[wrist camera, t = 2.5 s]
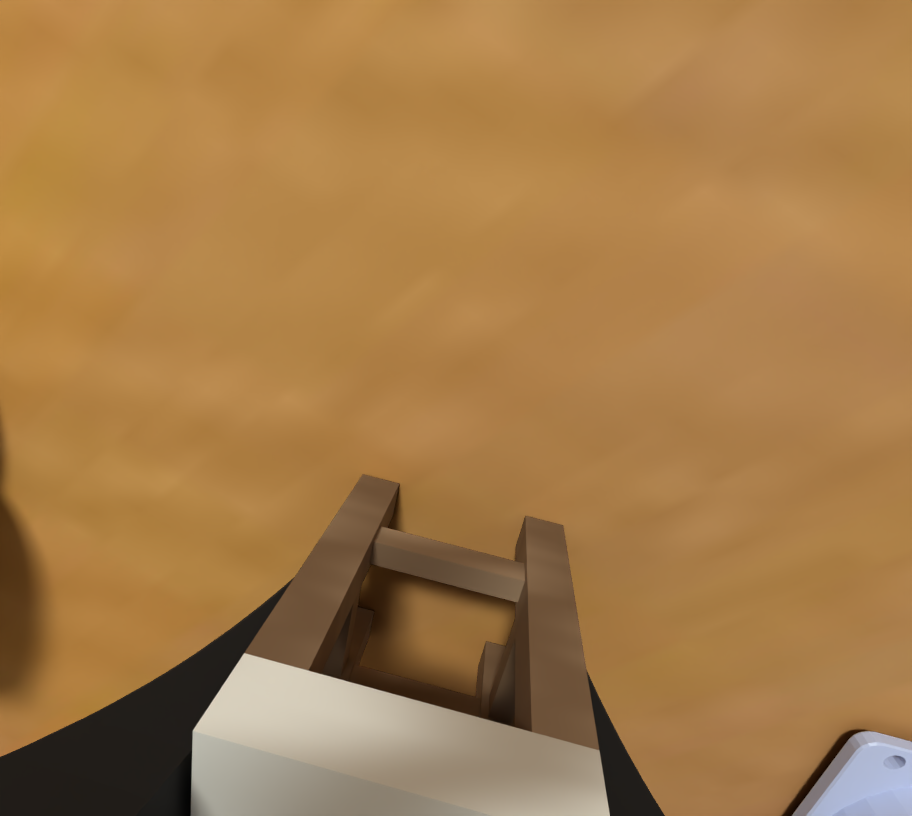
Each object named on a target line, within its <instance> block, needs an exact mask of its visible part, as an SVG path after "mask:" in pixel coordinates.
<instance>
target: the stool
mask: <svg viewBox="0 0 912 816" xmlns="http://www.w3.org/2000/svg"><path fill="white" fill-rule="evenodd" d="M398 488H399V483H395V482H391V481H387V480H383V479H379V478H375V477H371V476H367V475H364V474H363V475H362V476H361V478H360V479H359V481H358V482H357V484H356V485H355V487H354V488H353V490H352V491H351V493H350V494H349V496H348V497H347V499H346V500H345V502H344V504H343V505H342V507H341V508H340V510H339V511H338V513H337V514H336V516H335V517H334V519H333V520H332V522H331V523H330V525H329V526H328V528H327V529H326V531H325V532H324V534H323V535H322V537H321V538H320V540H319V541H318V543H317V544H316V546H315V547H314V549H313V550H312V552H311V553H310V555H309V556H308V558H307V559H306V561H305V562H304V564H303V565H302V567H301V568H300V570H299V571H298V573H297V574H296V576H295V577H294V579H293V580H292V582H291V583H290V585H289V586H288V588H287V589H286V591H285V592H284V594H283V596H282V597H281V599H280V600H279V602H278V603H277V605H276V606H275V608H274V609H273V611H272V612H271V614H270V615H269V617H268V618H267V620H266V621H265V623H264V624H263V626H262V627H261V629H260V630H259V632H258V633H257V635H256V636H255V638H254V639H253V641H252V642H251V644H250V645H249V647H248V648H247V650H246V651H245V653H244V654H243V656H242V657H241V659H240V660H239V662H238V663H237V665H236V666H235V668H234V669H233V671H232V672H231V674H230V675H229V677H228V678H227V680H226V681H225V683H224V684H223V686H222V687H221V689H220V691H219V692H218V694H217V695H216V697H215V698H214V700H213V701H212V703H211V704H210V706H209V707H208V709H207V710H206V712H205V713H204V715H203V716H202V718H201V719H200V721H199V722H198V724H197V725H196V727H195V728H194V730H193V740H192V780H191V816H610V813H609V807H608V801H607V794H606V788H605V782H604V776H603V770H602V763H601V757H600V751H599V745H598V739H597V732H596V726H595V720H594V714H593V708H592V701H591V695H590V689H589V683H588V677H587V670H586V664H585V658H584V652H583V645H582V639H581V633H580V627H579V621H578V614H577V608H576V602H575V596H574V590H573V583H572V577H571V571H570V565H569V559H568V552H567V546H566V540H565V534H564V528H563V525H560V524H556V523H552V522H548V521H544V520H540V519H536V518H532V517H528V516H525V519H524V522H523V525H522V529H521V532H520V535H519V538H518V541H517V544H516V561H513V560H509V559H505V558H501V557H497V556H493V555H489V554H486V553H482V552H478V551H474V550H470V549H466V548H462V547H459V546H455V545H451V544H447V543H443V542H439V541H435V540H432V539H428V538H424V537H420V536H416V535H412V534H408V533H405V532H401V531H397V530H393V529H389V528H388V526H389V523H390V521H391V519H392V517H393V514H394V509H395V503H396V498H397V493H398ZM371 564H373V565H377V566H380V567H384V568H388V569H392V570H396V571H399V572H403V573H407V574H411V575H415V576H418V577H422V578H426V579H430V580H434V581H437V582H441V583H445V584H449V585H453V586H456V587H460V588H464V589H468V590H472V591H475V592H479V593H483V594H487V595H491V596H494V597H498V598H502V599H506V600H510V601H513V602H515V621H514V624H513V627H512V630H511V633H510V636H509V639H508V642H507V645H506V646H502V645H498V644H495V643H491V642H487V641H486V643H485V646H484V650H483V653H482V656H481V659H480V662H479V666H478V676H477V686H476V697H473V696H469V695H466V694H462V693H458V692H455V691H451V690H447V689H444V688H440V687H436V686H433V685H429V684H425V683H422V682H418V681H414V680H411V679H407V678H403V677H400V676H396V675H392V674H389V673H385V672H381V671H378V670H374V669H370V668H367V667H363V666H359V663H360V660H361V657H362V655H363V652H364V649H365V647H366V644H367V641H368V639H369V635H370V630H371V625H372V620H373V615H374V611H371V610H367V609H364V608H360V607H358V602H359V596H360V590H361V585H362V583H363V581H364V579H365V576H366V574H367V572H368V570H369V568H370V565H371Z"/></svg>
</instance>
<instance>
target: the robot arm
mask: <svg viewBox="0 0 912 816" xmlns="http://www.w3.org/2000/svg"><path fill="white" fill-rule="evenodd" d="M293 579H294V578H293ZM293 579H292V580H293ZM292 580H291V581H290V582H288V583H287V584H286V585H285V586H284V587H283V588H281V589H280V590H279V591H278V592H277V593H276V594H274V595H273V596H272V597H271V598H269V599H268V600H267V601H266V602H265V603H263V604H262V605H261V606H260V607H258V608H257V609H256V610H254V611H253V612H252V613H251V614H249V615H248V616H247V617H245V618H244V619H243V620H242V621H240V622H239V623H238V624H236V625H235V626H234V627H232V628H231V629H230V630H228V631H227V632H225V633H224V634H223V635H221V636H220V637H218V638H217V639H216V640H214V641H213V642H211V643H210V644H208V645H207V646H206V647H204V648H203V649H201V650H200V651H199V652H197V653H196V654H194V655H193V656H191V657H189V658H188V659H186V660H185V661H183V662H182V663H180V664H179V665H177V666H176V667H174V668H172V669H171V670H169V671H168V672H166V673H164V674H163V675H161V676H159V677H158V678H156V679H154V680H153V681H151V682H149V683H148V684H146V685H144V686H142V687H141V688H139V689H137V690H135V691H133V692H132V693H130V694H128V695H126V696H125V697H123V698H121V699H119V700H117V701H116V702H114V703H112V704H110V705H108V706H106V707H104V708H103V709H101V710H99V711H97V712H95V713H93V714H91V715H89V716H87V717H85V718H83V719H81V720H79V721H77V722H75V723H73V724H71V725H69V726H66V727H64V728H62V729H60V730H58V731H56V732H54V733H52V734H50V735H48V736H46V737H44V738H41V739H39V740H37V741H35V742H33V743H31V744H29V745H27V746H24V747H22V748H20V749H18V750H16V751H13V752H11V753H9V754H6V755H4V756H2V757H0V816H191V780H192V740H193V730H194V728H195V727H196V725H197V724H198V722H199V721H200V719H201V718H202V716H203V715H204V713H205V712H206V710H207V709H208V707H209V706H210V704H211V703H212V701H213V700H214V698H215V697H216V695H217V694H218V692H219V691H220V689H221V687H222V686H223V684H224V683H225V681H226V680H227V678H228V677H229V675H230V674H231V672H232V671H233V669H234V668H235V666H236V665H237V663H238V662H239V660H240V659H241V657H242V656H243V654H244V653H245V651H246V650H247V648H248V647H249V645H250V644H251V642H252V641H253V639H254V638H255V636H256V635H257V633H258V632H259V630H260V629H261V627H262V626H263V624H264V623H265V621H266V620H267V618H268V617H269V615H270V614H271V612H272V611H273V609H274V608H275V606H276V605H277V603H278V602H279V600H280V599H281V597H282V596H283V594H284V592H285V591H286V589H287V588H288V586H289V585H290V583H291V582H292ZM587 677H588V683H589V689H590V695H591V701H592V708H593V714H594V720H595V726H596V732H597V739H598V745H599V751H600V757H601V763H602V770H603V776H604V782H605V788H606V794H607V801H608V807H609V813H610V816H665V815H664V814H663V812H662V811H661V809H660V807H659V806H658V804H657V803H656V801H655V799H654V798H653V796H652V794H651V793H650V791H649V789H648V788H647V786H646V784H645V783H644V781H643V779H642V777H641V776H640V774H639V772H638V770H637V769H636V767H635V765H634V763H633V762H632V760H631V758H630V756H629V754H628V753H627V751H626V749H625V747H624V745H623V743H622V741H621V740H620V738H619V736H618V734H617V732H616V730H615V728H614V726H613V724H612V722H611V720H610V718H609V716H608V714H607V712H606V710H605V708H604V706H603V704H602V702H601V700H600V698H599V696H598V694H597V692H596V690H595V687H594V685H593V683H592V681H591V679H590V677H589V675H588V672H587ZM792 816H912V742H911V741H907V740H903V739H900V738H896V737H892V736H888V735H885V734H881V733H877V732H872V731H863V732H859V733H856V734H854V735H853V736H852V737H850V738H849V740H848V741H847V742H846V744H845V745H844V746H843V748H842V749H841V750H840V752H839V753H838V754H837V756H836V757H835V758H834V760H833V761H832V762H831V764H830V765H829V766H828V768H827V769H826V770H825V772H824V773H823V774H822V776H821V777H820V778H819V780H818V781H817V782H816V784H815V785H814V787H813V788H812V789H811V791H810V792H809V793H808V795H807V796H806V797H805V799H804V800H803V801H802V803H801V804H800V805H799V807H798V808H797V809H796V811H795V812H794V813H793V815H792Z"/></svg>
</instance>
